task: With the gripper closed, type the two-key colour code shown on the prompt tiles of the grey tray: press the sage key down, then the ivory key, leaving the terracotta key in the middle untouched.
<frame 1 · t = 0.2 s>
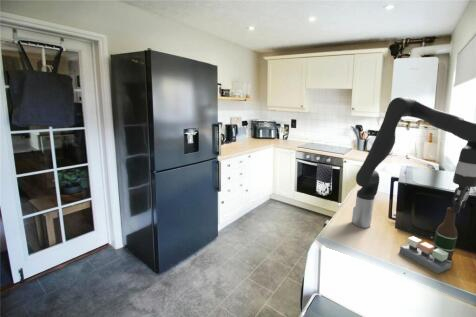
hand: (457, 210, 107), 28 cm above the worktop, fingers open, 8 cm apart
grey tray: (423, 259, 119), on the worktop
key terracotta: (426, 248, 118), point 6 cm above the worktop, slide at 0.0 cm
key ivory: (414, 241, 123), point 6 cm above the worktop, slide at 0.0 cm
beer bottle: (441, 255, 123), on the worktop
key sage: (439, 254, 113), point 6 cm above the worktop, slide at 0.0 cm
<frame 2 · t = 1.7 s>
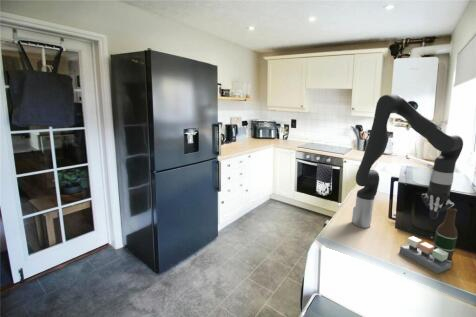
hand: (433, 218, 114), 21 cm above the worktop, fingers closed
nothing on the worktop moved.
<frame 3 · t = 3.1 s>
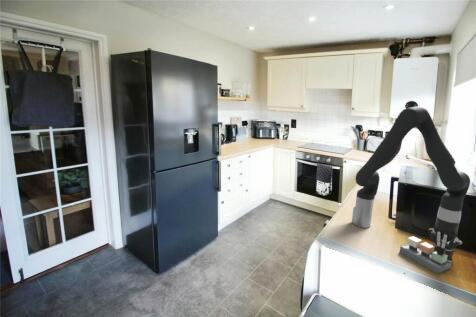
hand: (440, 254, 113), 6 cm above the worktop, fingers closed
key sage: (439, 257, 113), point 5 cm above the worktop, slide at 1.2 cm, touching gripper
everything else where it was.
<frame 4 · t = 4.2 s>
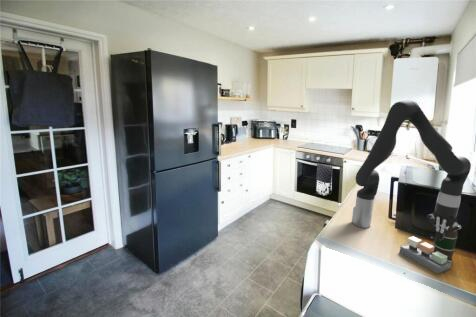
hand: (439, 239, 113), 13 cm above the worktop, fingers closed
key sage: (439, 257, 113), point 4 cm above the worktop, slide at 1.6 cm
everything else where it was.
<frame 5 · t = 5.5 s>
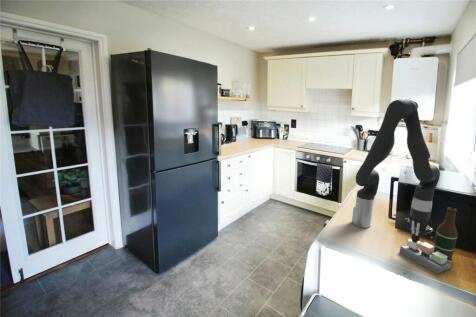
hand: (414, 241, 122), 6 cm above the worktop, fingers closed
key ivory: (414, 244, 123), point 5 cm above the worktop, slide at 1.1 cm, touching gripper
everything else where it was.
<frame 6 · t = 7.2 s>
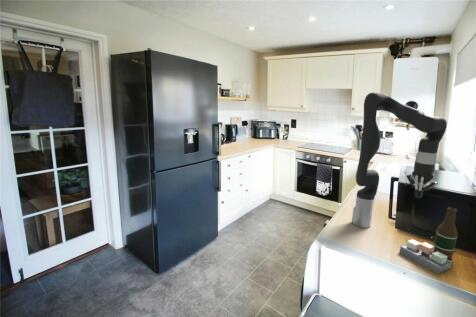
hand: (417, 197, 120), 28 cm above the worktop, fingers closed
key ivory: (413, 245, 123), point 4 cm above the worktop, slide at 1.6 cm
everything else where it was.
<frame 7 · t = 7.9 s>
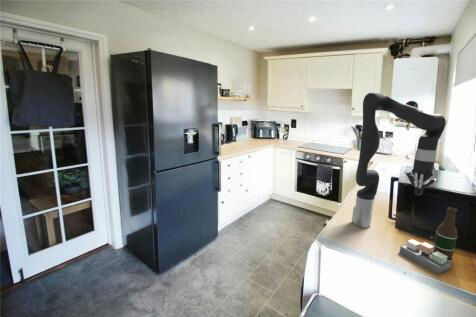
hand: (417, 195, 120), 29 cm above the worktop, fingers closed
nothing on the worktop moved.
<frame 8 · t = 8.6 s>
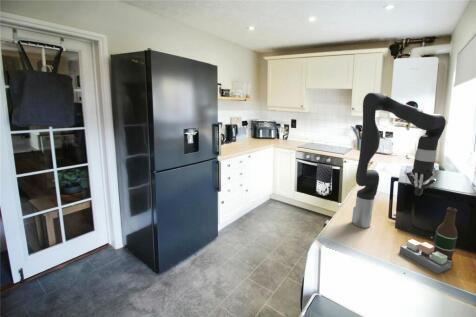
hand: (417, 195, 120), 29 cm above the worktop, fingers closed
nothing on the worktop moved.
at the end: key sage slide at 1.6 cm; key ivory slide at 1.6 cm; key terracotta slide at 0.0 cm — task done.
